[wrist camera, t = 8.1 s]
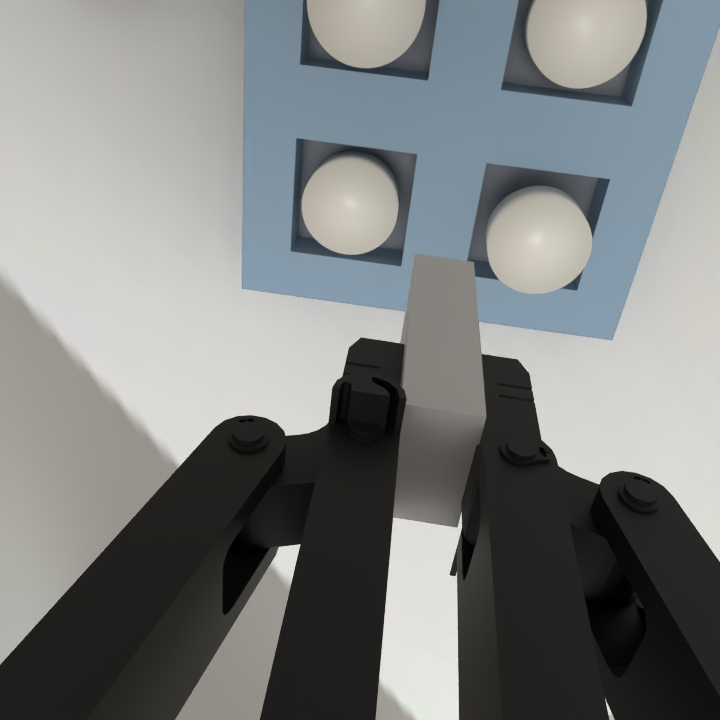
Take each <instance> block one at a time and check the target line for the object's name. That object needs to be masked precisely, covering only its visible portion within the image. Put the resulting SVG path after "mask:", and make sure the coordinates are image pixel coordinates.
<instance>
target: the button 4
mask: <svg viewBox="0 0 720 720" xmlns="http://www.w3.org/2000/svg"><path fill="white" fill-rule="evenodd" d="M646 21H647V10H646V3H645V0H531V1H530V4H529V6H528V9H527V13H526V16H525V23H524V37H525V43H526V47H527V50H528V53H529V55H530V57H531V59H532V60H533V62H534V63H535V64H536V66H537V67H538V68H539V70H540V71H541V72H542V73H543V74H544V75H545V76H546V77H547V78H548V79H550V80H551V81H553V82H554V83H556V84H558V85H561V86H564V87H568V88H578V89H580V88H589V87H593V86H596V85H599V84H602V83H604V82H606V81H608V80H610V79H611V78H613V77H614V76H616V75H617V74H618V73H620V72H621V71H622V70H623V69H624V68H625V67H626V66H627V65H628V64H629V62H630V61H631V60H632V59H633V57H634V55H635V54H636V52H637V51H638V49H639V47H640V44H641V42H642V39H643V36H644V33H645V28H646Z"/></svg>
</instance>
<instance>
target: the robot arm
mask: <svg viewBox="0 0 720 720" xmlns="http://www.w3.org/2000/svg"><path fill="white" fill-rule="evenodd" d="M531 390H532V386H531V381H530V375H529V373H528V372H527V370H526V369H525V368H524V367H523V366H522V364H521V363H520V362H519V361H518V360H517V359H510V358H504V357H497V356H490V355H484V354H481V343H480V331H479V319H478V306H477V294H476V282H475V269H474V262H471V261H464V260H458V259H451V258H444V257H437V256H430V255H424V254H417V253H415V259H414V265H413V271H412V277H411V283H410V289H409V295H408V301H407V307H406V313H405V319H404V325H403V331H402V336H401V342H400V343H393V342H387V341H380V340H373V339H367V338H360V339H359V340H358V341H356V342H355V343H354V344H353V345H352V346H351V347H350V348H349V350H348V355H347V359H346V364H345V368H344V372H343V376H342V378H340V379H338V380H337V381H336V383H335V384H334V386H333V388H332V397H331V406H330V415H329V423H328V424H327V425H326V426H324V427H322V428H321V429H319V430H317V431H314V432H311V433H308V434H301V435H290V436H285V433H284V431H283V430H282V428H281V427H280V426H279V425H278V424H277V423H275V422H273V421H271V420H269V419H267V418H263V417H258V416H252V415H249V416H237V417H234V418H230V419H227V420H224V421H223V422H222V423H220V424H219V425H218V426H216V427H215V428H214V429H213V430H212V431H211V432H210V434H209V435H208V436H207V437H206V438H205V439H204V440H203V441H202V442H201V443H200V445H199V446H198V447H197V448H196V449H195V450H194V451H193V452H192V453H191V455H190V456H189V457H188V458H187V459H186V460H185V461H184V462H183V463H182V464H181V466H180V467H179V468H178V469H177V470H176V471H175V472H174V473H173V474H172V476H171V477H170V478H169V479H168V480H167V481H166V482H165V483H164V484H163V485H162V487H161V488H160V489H159V490H158V491H157V492H156V493H155V494H154V495H153V497H152V498H151V499H150V500H149V501H148V502H147V503H146V504H145V505H144V506H143V508H142V509H141V510H140V511H139V512H138V513H137V514H136V516H135V517H134V518H133V519H132V520H131V521H130V522H129V523H128V524H127V525H126V526H125V528H124V529H123V530H122V531H121V532H120V533H119V534H118V535H117V536H116V537H115V539H114V540H113V541H112V542H111V543H110V544H109V545H108V546H107V547H106V548H105V550H104V551H103V552H102V553H101V554H100V555H99V556H98V557H97V558H96V560H95V561H94V562H93V563H92V564H91V565H90V566H89V567H88V568H87V570H86V571H85V572H84V573H83V574H82V575H81V576H80V577H79V578H78V579H77V581H76V582H75V583H74V584H73V585H72V586H71V587H70V588H69V590H68V591H67V592H66V593H65V594H64V595H63V596H62V597H61V598H60V599H59V600H58V602H57V603H56V604H55V605H54V606H53V607H52V608H51V609H50V610H49V612H48V613H47V614H46V615H45V616H44V617H43V618H42V619H41V620H40V621H39V623H38V624H37V625H36V626H35V627H34V628H33V629H32V630H31V631H30V633H29V634H28V635H27V636H26V637H25V638H24V639H23V640H22V641H21V642H20V644H19V645H18V646H17V647H16V648H15V649H14V650H13V651H12V652H11V654H10V655H9V656H8V657H7V658H6V659H5V660H4V662H2V664H1V665H0V720H175V719H176V717H177V715H178V714H179V712H180V711H181V709H182V707H183V705H184V704H185V702H186V701H187V699H188V697H189V696H190V694H191V693H192V691H193V689H194V688H195V686H196V684H197V683H198V681H199V679H200V678H201V676H202V675H203V673H204V671H205V670H206V668H207V666H208V665H209V663H210V661H211V660H212V658H213V656H214V655H215V653H216V652H217V650H218V648H219V647H220V645H221V644H222V642H223V640H224V639H225V637H226V635H227V634H228V632H229V630H230V629H231V627H232V626H233V624H234V622H235V621H236V619H237V617H238V615H239V614H240V613H241V611H242V609H243V608H244V606H245V604H246V603H247V601H248V599H249V598H250V596H251V595H252V593H253V591H254V589H255V588H256V586H257V585H258V583H259V581H260V580H261V578H262V577H263V575H264V573H265V572H266V570H267V568H268V567H269V565H270V564H271V562H272V560H273V559H274V557H275V555H276V553H277V550H278V547H280V546H289V545H298V544H301V545H300V549H299V553H298V558H297V562H296V566H295V571H294V575H293V579H292V584H291V588H290V592H289V597H288V601H287V605H286V609H285V614H284V618H283V622H282V627H281V631H280V635H279V640H278V644H277V648H276V653H275V657H274V661H273V665H272V670H271V674H270V678H269V683H268V687H267V691H266V696H265V700H264V704H263V709H262V713H261V718H260V720H375V717H376V706H377V695H378V683H379V672H380V660H381V649H382V637H383V626H384V614H385V603H386V591H387V580H388V568H389V557H390V545H391V534H392V522H393V517H395V518H401V519H407V520H414V521H420V522H426V523H432V524H439V525H445V526H451V527H457V526H458V522H459V519H460V515H461V511H462V531H461V534H460V538H459V542H458V545H457V549H456V553H455V556H454V560H453V564H452V568H451V572H450V575H451V576H456V572H457V594H458V671H459V720H609V716H608V711H607V706H606V701H607V703H608V705H609V707H610V710H611V712H612V714H613V717H614V719H615V720H720V562H719V560H718V559H717V558H716V556H715V555H714V553H713V552H712V550H711V549H710V548H709V546H708V545H707V543H706V542H705V541H704V539H703V538H702V536H701V535H700V533H699V532H698V531H697V529H696V528H695V526H694V525H693V524H692V522H691V521H690V519H689V518H688V517H687V515H686V514H685V512H684V511H683V509H682V508H681V507H680V505H679V504H678V502H677V501H676V500H675V498H674V497H673V496H672V495H671V494H670V493H669V492H668V491H667V489H666V488H665V487H664V486H662V485H660V484H659V483H657V482H656V481H654V480H652V479H651V478H648V477H646V476H643V475H640V474H637V473H633V472H625V471H619V472H613V473H609V474H608V475H606V476H605V477H604V478H602V480H601V482H600V485H599V484H596V483H593V482H591V481H588V480H586V479H583V478H580V477H578V476H576V475H573V474H571V473H569V472H567V471H565V470H564V469H562V468H561V467H559V466H558V464H557V459H556V457H555V455H554V453H553V451H552V449H551V448H550V447H549V446H547V445H546V444H545V443H544V442H543V441H542V440H541V435H540V430H539V424H538V419H537V413H536V408H535V403H534V397H533V392H532V391H531ZM605 698H606V701H605Z"/></svg>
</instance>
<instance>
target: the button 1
mask: <svg viewBox="0 0 720 720" xmlns="http://www.w3.org/2000/svg"><path fill="white" fill-rule="evenodd" d="M399 203H400V193H399V188H398V184H397V181H396V179H395V177H394V175H393V173H392V172H391V170H390V169H389V168H388V167H387V166H386V165H385V164H384V163H383V162H382V161H381V160H379V159H378V158H376V157H374V156H372V155H370V154H367V153H364V152H359V151H345V152H340V153H337V154H334V155H332V156H330V157H328V158H327V159H326V160H324V161H323V162H322V163H321V164H320V165H319V166H318V167H317V168H316V170H315V171H314V173H313V175H312V176H311V178H310V180H309V182H308V183H307V185H306V187H305V190H304V193H303V196H302V215H303V219H304V222H305V224H306V227H307V229H308V230H309V232H310V233H311V235H312V236H313V237H314V238H315V239H316V240H317V241H318V242H319V243H320V244H321V245H323V246H324V247H326V248H327V249H329V250H332V251H334V252H337V253H341V254H347V255H357V254H363V253H366V252H369V251H371V250H374V249H375V248H377V247H379V246H380V245H381V244H382V243H384V242H385V240H386V239H387V238H388V237H389V236H390V234H391V233H392V231H393V229H394V226H395V224H396V220H397V215H398V209H399Z"/></svg>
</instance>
